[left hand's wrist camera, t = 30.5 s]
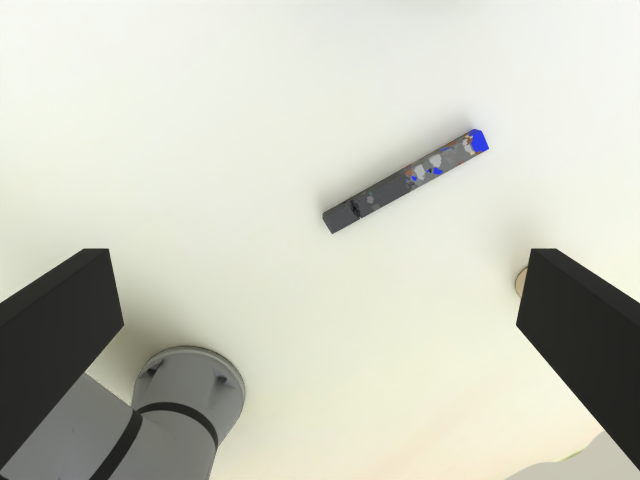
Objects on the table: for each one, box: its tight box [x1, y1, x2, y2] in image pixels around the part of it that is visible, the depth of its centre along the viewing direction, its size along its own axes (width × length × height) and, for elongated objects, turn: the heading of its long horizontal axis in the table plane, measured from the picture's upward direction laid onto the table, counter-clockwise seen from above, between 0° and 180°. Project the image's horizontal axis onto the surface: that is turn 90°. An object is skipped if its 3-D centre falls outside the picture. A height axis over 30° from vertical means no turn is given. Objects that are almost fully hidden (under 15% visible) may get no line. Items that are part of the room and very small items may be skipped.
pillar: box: [323, 129, 489, 234], centre depth 45 cm, size 2×2×20 cm
